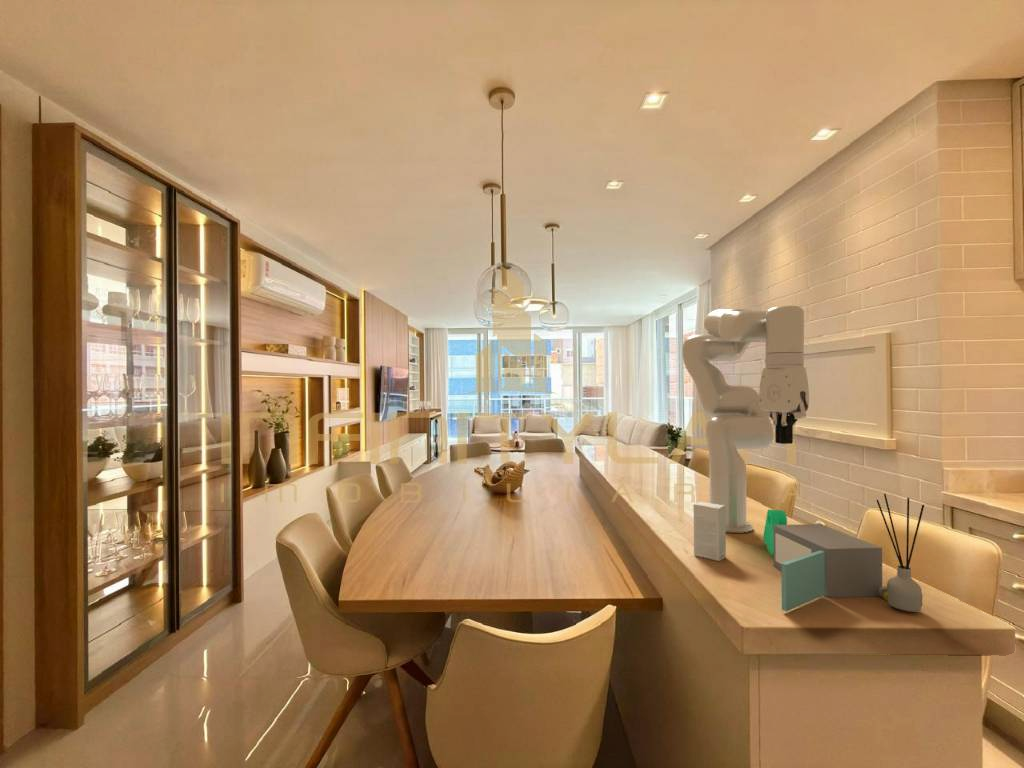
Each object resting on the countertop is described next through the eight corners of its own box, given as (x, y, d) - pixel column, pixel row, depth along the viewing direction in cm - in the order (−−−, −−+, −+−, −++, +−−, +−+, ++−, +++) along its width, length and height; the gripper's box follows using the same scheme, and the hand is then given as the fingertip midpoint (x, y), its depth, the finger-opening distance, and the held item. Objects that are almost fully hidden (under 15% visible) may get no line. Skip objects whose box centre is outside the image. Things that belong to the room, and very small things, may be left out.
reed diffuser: (941, 622, 80) (940, 501, 80) (899, 622, 80) (899, 501, 80) (892, 596, 90) (891, 489, 90) (855, 596, 90) (855, 489, 90)
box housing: (772, 566, 105) (772, 525, 105) (820, 565, 106) (820, 524, 106) (826, 597, 89) (825, 548, 89) (882, 595, 90) (882, 547, 90)
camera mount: (813, 565, 107) (813, 518, 107) (775, 561, 109) (775, 516, 109) (797, 548, 118) (797, 506, 118) (763, 545, 120) (763, 504, 120)
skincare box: (726, 557, 111) (726, 505, 111) (719, 562, 108) (719, 508, 108) (700, 551, 115) (700, 501, 115) (692, 555, 112) (692, 504, 112)
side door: (819, 593, 90) (819, 550, 90) (824, 594, 89) (824, 551, 89) (781, 609, 83) (781, 563, 83) (786, 611, 82) (786, 564, 82)
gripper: (746, 362, 114) (745, 439, 114) (797, 359, 100) (797, 448, 100) (772, 363, 116) (772, 439, 116) (827, 360, 101) (826, 447, 101)
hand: (784, 443), depth 108 cm, fingers closed
